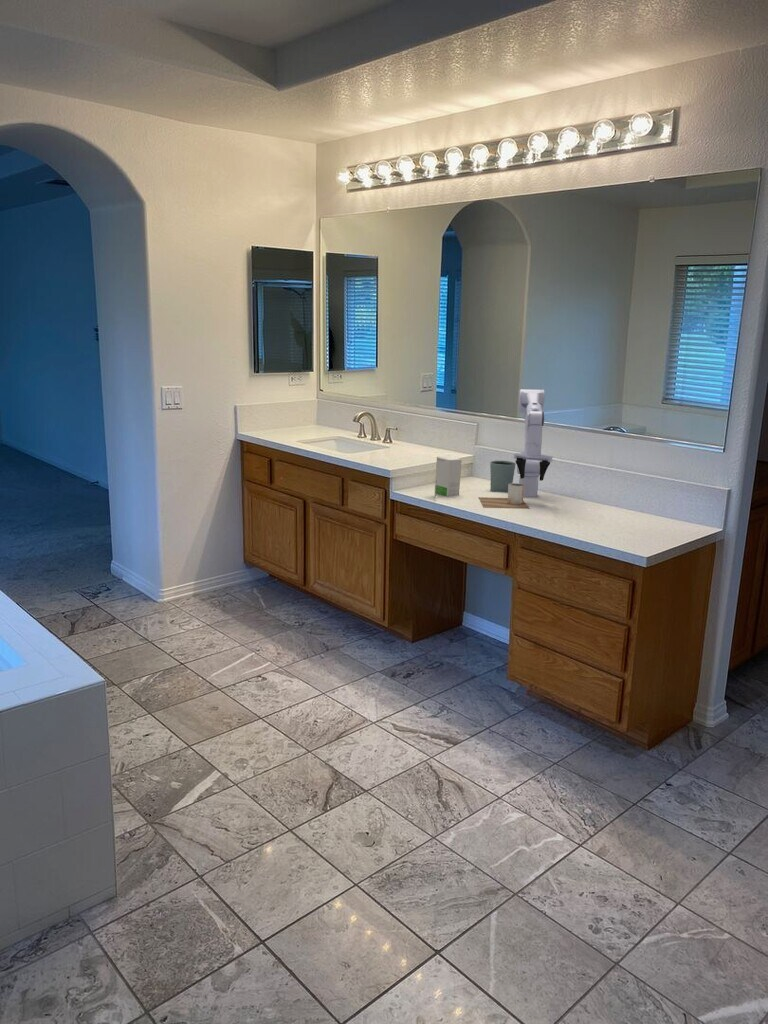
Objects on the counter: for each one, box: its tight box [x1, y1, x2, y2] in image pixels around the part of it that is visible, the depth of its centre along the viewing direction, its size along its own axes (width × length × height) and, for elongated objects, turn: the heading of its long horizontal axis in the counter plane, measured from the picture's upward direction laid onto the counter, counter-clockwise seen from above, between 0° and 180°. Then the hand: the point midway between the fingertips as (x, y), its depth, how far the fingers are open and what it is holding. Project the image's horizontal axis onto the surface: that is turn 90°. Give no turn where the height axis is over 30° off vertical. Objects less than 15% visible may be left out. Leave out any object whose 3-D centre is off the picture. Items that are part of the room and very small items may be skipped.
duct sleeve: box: [507, 482, 524, 505], centre depth 303 cm, size 6×6×7 cm
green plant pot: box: [489, 460, 517, 493], centre depth 327 cm, size 10×10×12 cm
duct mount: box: [478, 496, 531, 510], centre depth 303 cm, size 18×17×5 cm
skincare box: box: [434, 455, 463, 497], centre depth 316 cm, size 8×7×16 cm
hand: (531, 479), depth 303 cm, fingers open, 7 cm apart
